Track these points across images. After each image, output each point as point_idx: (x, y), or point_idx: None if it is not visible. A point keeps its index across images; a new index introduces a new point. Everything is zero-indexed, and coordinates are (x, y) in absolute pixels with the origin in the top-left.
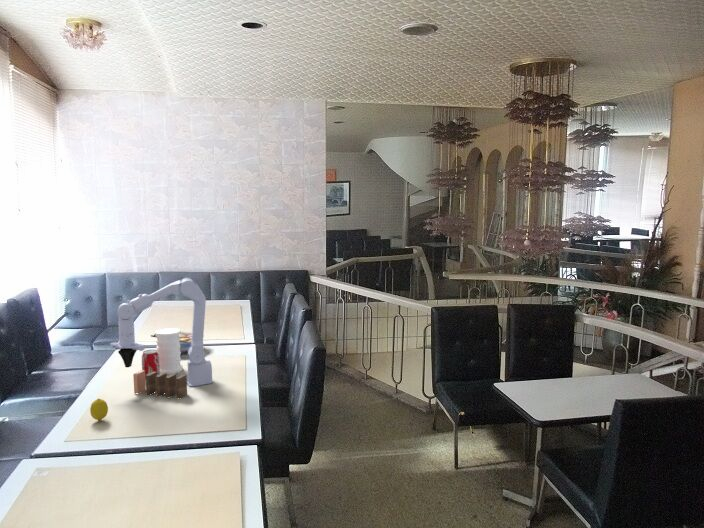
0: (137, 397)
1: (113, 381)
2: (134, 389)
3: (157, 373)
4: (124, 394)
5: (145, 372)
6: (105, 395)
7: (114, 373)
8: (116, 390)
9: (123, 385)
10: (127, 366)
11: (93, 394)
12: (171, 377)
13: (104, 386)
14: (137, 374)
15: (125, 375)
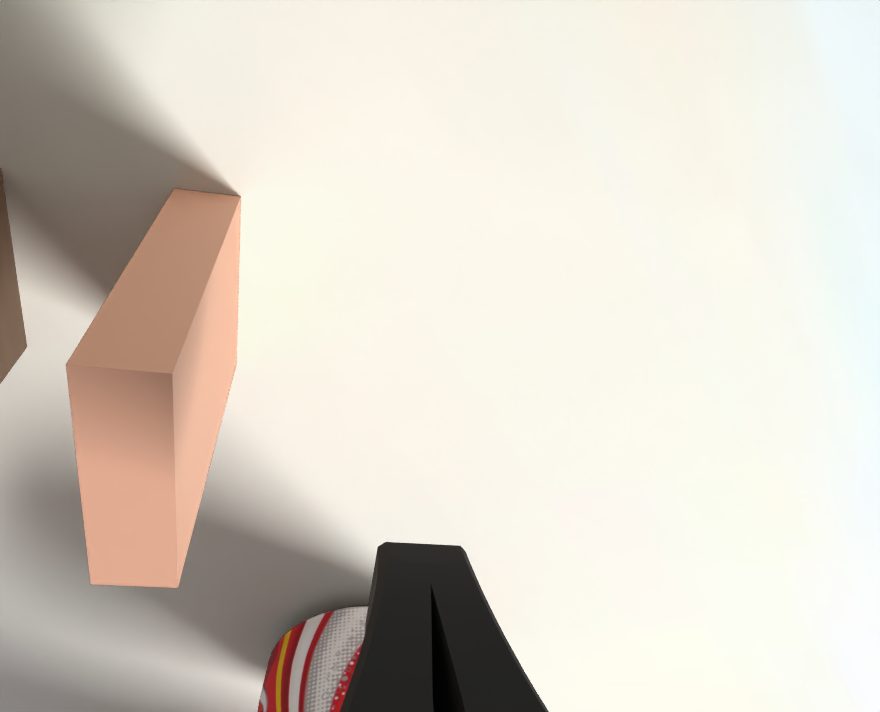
0: (64, 39)
1: (753, 523)
2: (221, 220)
3: (258, 708)
4: (376, 142)
5: None
6: (661, 54)
7: (822, 684)
8: (584, 276)
9: (575, 442)
10: (395, 558)
11: (869, 70)
12: None
13: (807, 377)
14: (70, 381)
15: (689, 666)
